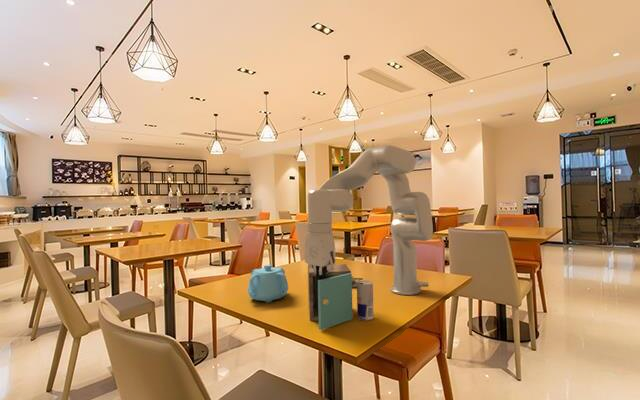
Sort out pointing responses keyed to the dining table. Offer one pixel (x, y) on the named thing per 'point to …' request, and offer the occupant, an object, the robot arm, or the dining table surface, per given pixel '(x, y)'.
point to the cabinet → (313, 290)
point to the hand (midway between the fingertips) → (320, 286)
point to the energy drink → (365, 300)
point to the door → (334, 300)
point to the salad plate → (355, 281)
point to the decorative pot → (267, 284)
